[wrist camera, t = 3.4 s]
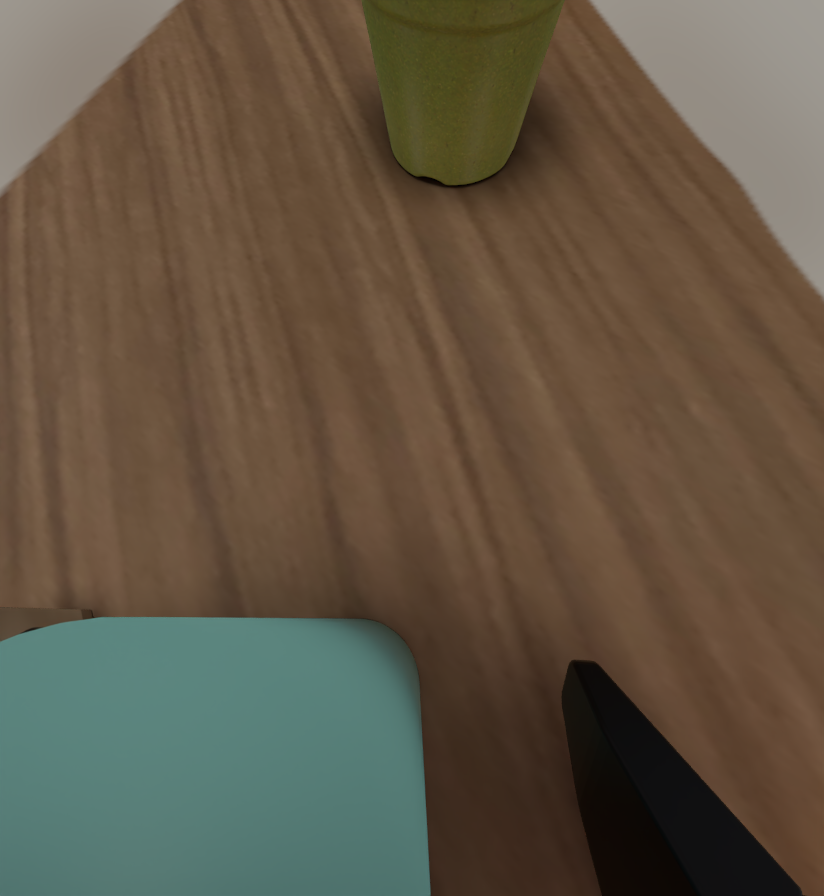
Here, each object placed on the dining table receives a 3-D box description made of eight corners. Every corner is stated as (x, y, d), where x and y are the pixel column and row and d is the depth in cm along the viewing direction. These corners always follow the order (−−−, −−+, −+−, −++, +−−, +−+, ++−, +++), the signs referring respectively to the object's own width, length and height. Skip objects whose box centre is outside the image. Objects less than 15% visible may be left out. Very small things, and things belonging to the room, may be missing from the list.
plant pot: (405, 242, 21) (398, -1, 13) (327, 114, 24) (281, -149, 16) (582, 176, 22) (678, -83, 14) (487, 63, 25) (521, -205, 17)
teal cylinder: (441, 719, 14) (603, 1350, 2) (321, 787, 14) (-542, 2326, 1) (386, 596, 15) (272, 512, 3) (274, 654, 15) (-386, 819, 3)
